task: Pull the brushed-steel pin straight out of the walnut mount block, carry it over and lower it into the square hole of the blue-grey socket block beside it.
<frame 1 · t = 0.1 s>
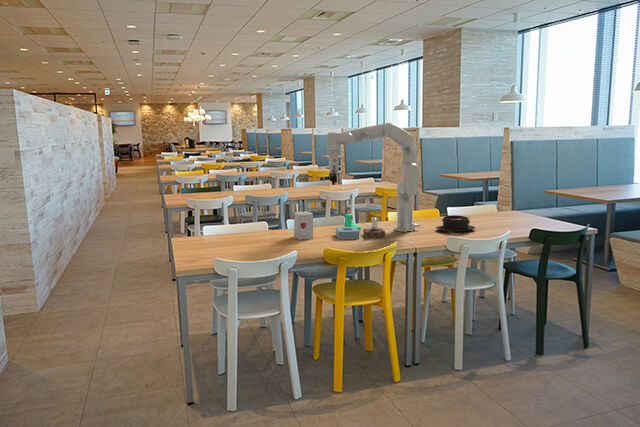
hand: (333, 181, 295), 31 cm above the table, tool pointing down, fingers open, 9 cm apart
supplement box: (303, 238, 286), on the table
casserole: (455, 231, 303), on the table
steel pin: (374, 236, 290), resting in walnut mount block
socket block: (347, 236, 288), on the table
camera mount: (352, 230, 307), on the table
walnut mount block: (374, 235, 290), on the table
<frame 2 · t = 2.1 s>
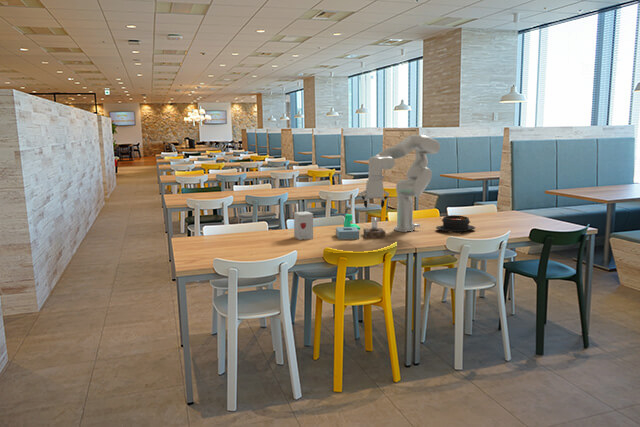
hand: (374, 207, 286), 17 cm above the table, tool pointing down, fingers open, 9 cm apart
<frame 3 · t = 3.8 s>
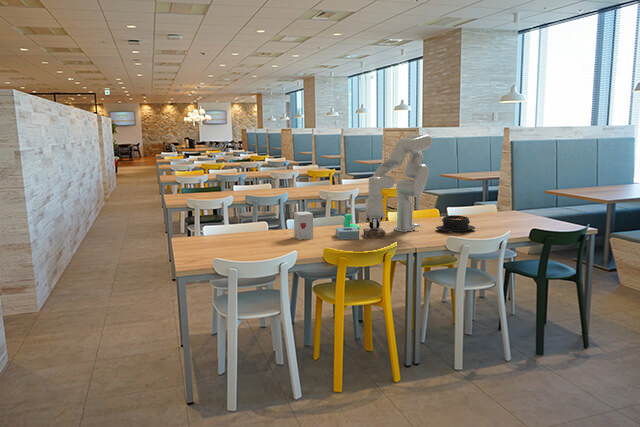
hand: (374, 228, 289), 5 cm above the table, tool pointing down, fingers closed on steel pin, 3 cm apart
steel pin: (374, 236, 290), resting in walnut mount block, touching gripper
everything else where it was.
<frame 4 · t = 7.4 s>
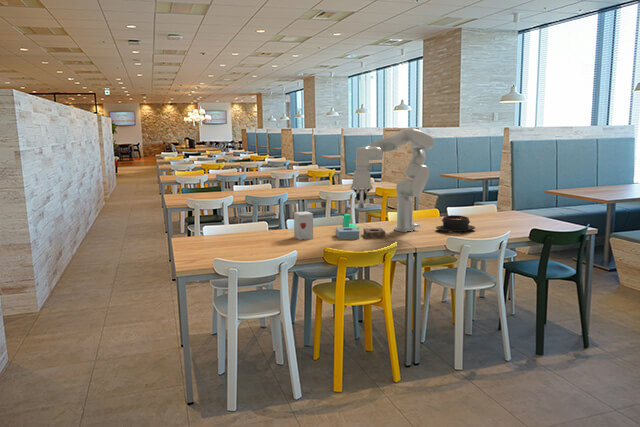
hand: (361, 199, 285), 22 cm above the table, tool pointing down, fingers closed on steel pin, 3 cm apart
steel pin: (361, 207, 285), point 17 cm above the table, touching gripper
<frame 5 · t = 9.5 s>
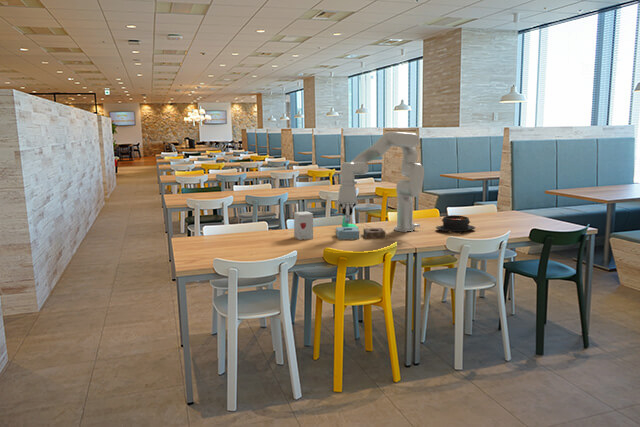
hand: (347, 214, 286), 13 cm above the table, tool pointing down, fingers closed on steel pin, 3 cm apart
steel pin: (347, 222, 286), point 9 cm above the table, touching gripper
when the fingers open (6 cm above the table, at t = 11.1 s): steel pin drops 1 cm, resting in socket block.
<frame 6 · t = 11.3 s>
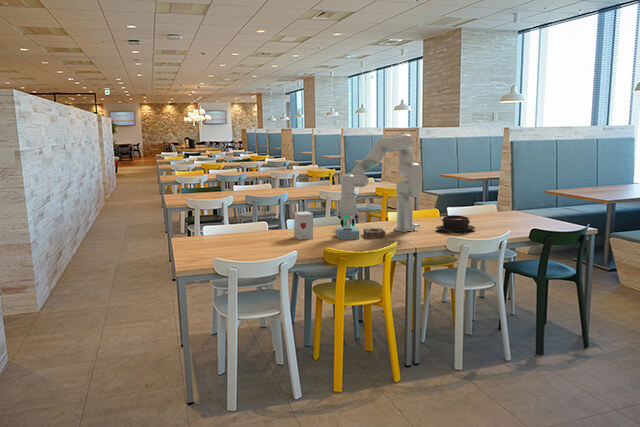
hand: (347, 225, 287), 6 cm above the table, tool pointing down, fingers open, 5 cm apart
steel pin: (347, 236, 288), resting in socket block
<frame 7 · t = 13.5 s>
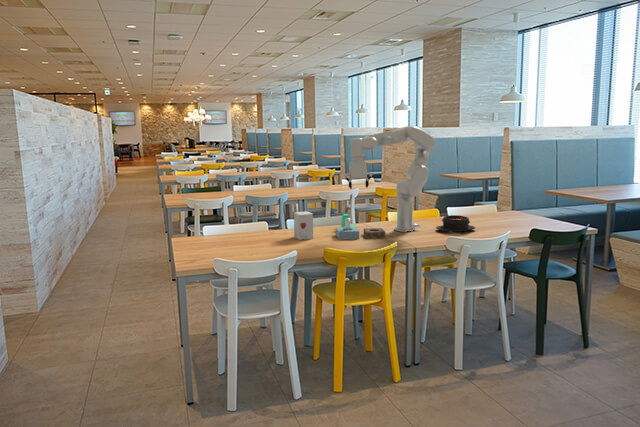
hand: (358, 188, 291), 28 cm above the table, tool pointing down, fingers open, 9 cm apart
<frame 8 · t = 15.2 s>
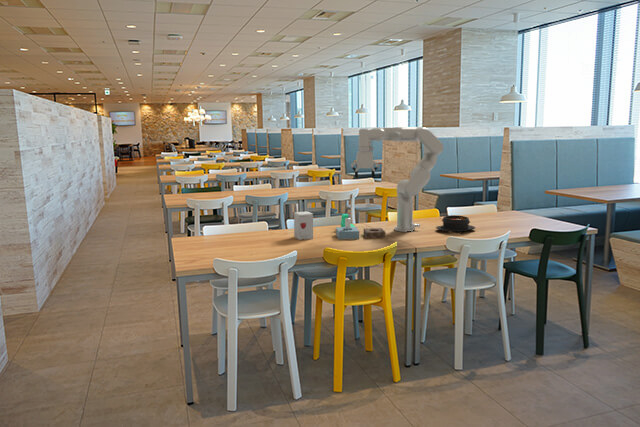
hand: (364, 178, 295), 33 cm above the table, tool pointing down, fingers open, 9 cm apart
at the end: steel pin 0.1 cm off-centre on the socket block, point 0.0 cm above the socket block's base; steel pin tilted 0°; the gripper is holding nothing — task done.
